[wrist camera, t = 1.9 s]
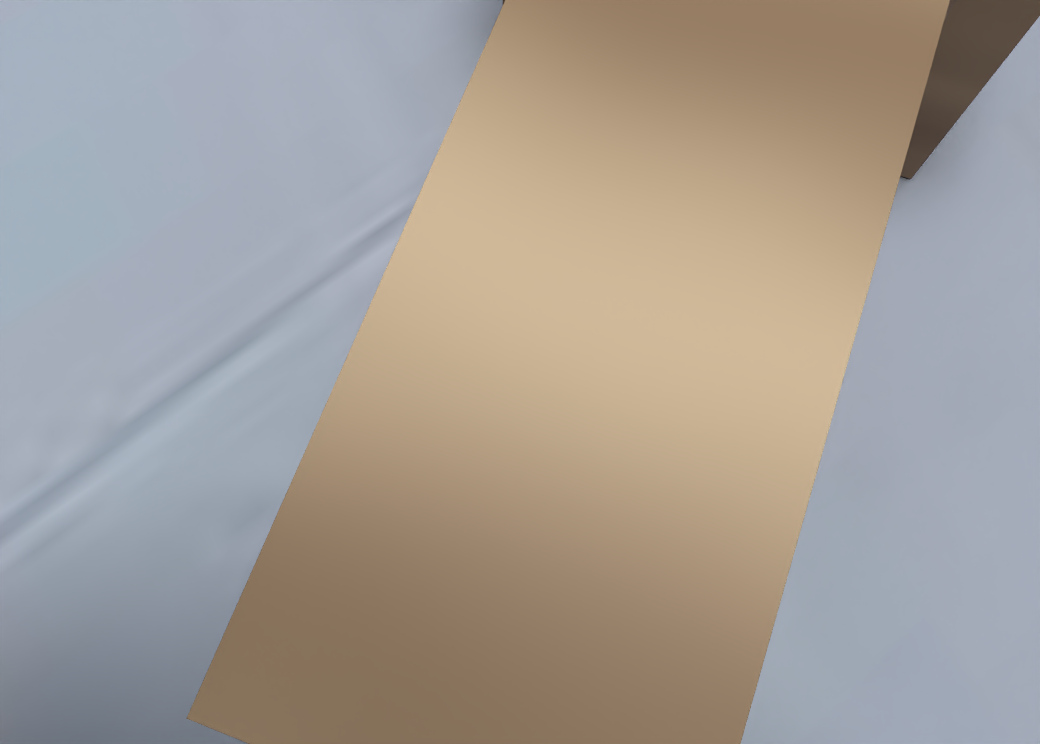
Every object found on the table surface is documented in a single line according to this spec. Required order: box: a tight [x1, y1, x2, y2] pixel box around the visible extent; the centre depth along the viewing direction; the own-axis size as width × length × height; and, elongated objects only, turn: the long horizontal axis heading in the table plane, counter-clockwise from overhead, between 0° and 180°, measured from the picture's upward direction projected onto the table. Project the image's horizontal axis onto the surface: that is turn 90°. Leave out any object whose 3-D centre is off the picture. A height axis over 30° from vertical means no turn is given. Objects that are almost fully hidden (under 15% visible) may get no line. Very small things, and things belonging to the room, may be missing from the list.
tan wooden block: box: [187, 0, 950, 744], centre depth 14 cm, size 12×4×10 cm, turn 160°
